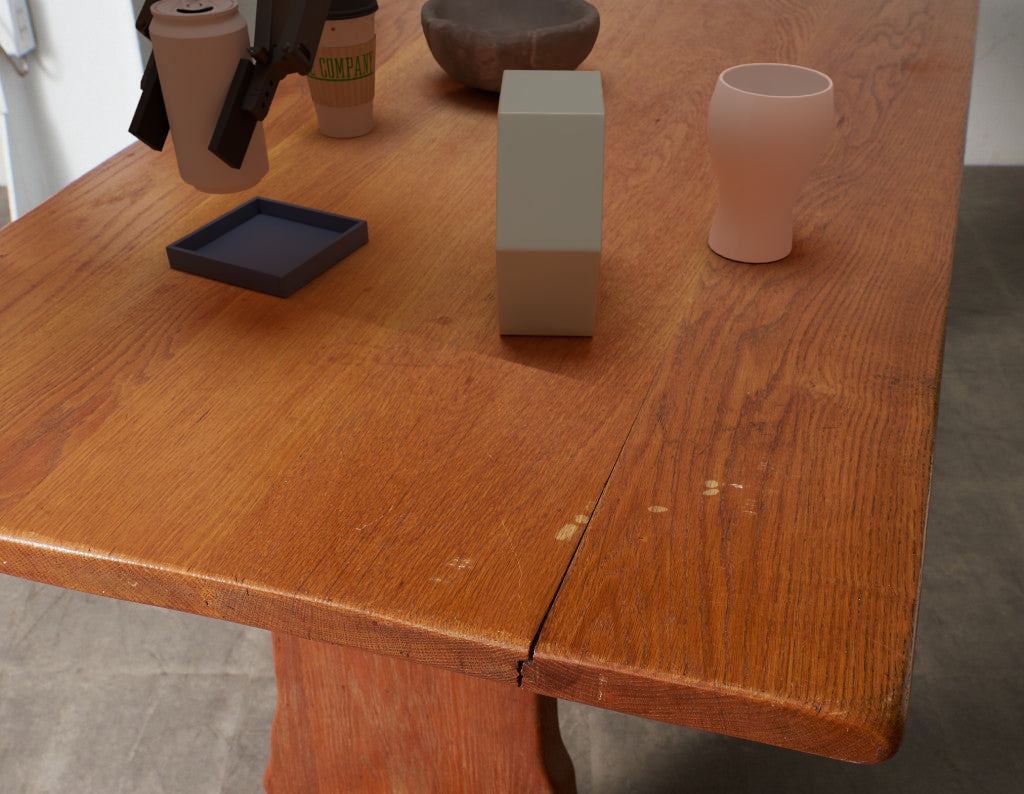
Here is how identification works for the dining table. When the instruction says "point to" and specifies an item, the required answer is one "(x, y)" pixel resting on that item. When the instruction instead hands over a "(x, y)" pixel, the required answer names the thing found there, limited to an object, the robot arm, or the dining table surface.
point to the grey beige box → (549, 201)
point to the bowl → (508, 37)
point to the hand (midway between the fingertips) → (183, 150)
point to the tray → (268, 245)
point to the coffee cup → (345, 69)
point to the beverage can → (203, 88)
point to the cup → (764, 153)
